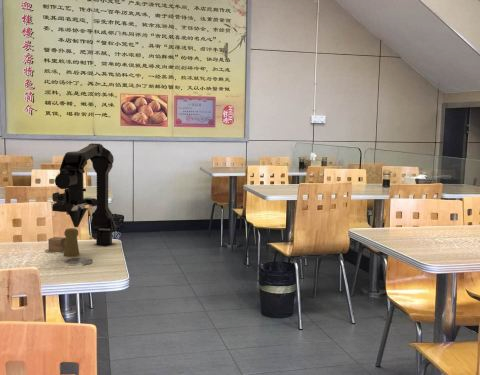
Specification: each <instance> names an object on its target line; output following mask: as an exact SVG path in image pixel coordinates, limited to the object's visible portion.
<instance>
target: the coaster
mask: <svg viewBox="0 0 480 375" xmlns="http://www.w3.org/2000/svg"><path fill="white" fill-rule="evenodd" d="M43 251H44V253H47V254H54V255H55V254H64V251H62V252H49V248H47V249H44V250H43Z"/></svg>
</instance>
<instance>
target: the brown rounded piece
mask: <svg viewBox="0 0 480 375" xmlns="http://www.w3.org/2000/svg"><path fill="white" fill-rule="evenodd" d="M63 234H64V237H66V241H65V249H64V253H63V257H67V258H74V257H75V258H76V257H78V256H80V249H79V248H80V247H79V243H78V236H79V230H78V229H77V228H76V227H74V228H73V227H71V228H69V227H68V228H66V229H65V230H64V233H63Z"/></svg>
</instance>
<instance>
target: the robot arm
mask: <svg viewBox="0 0 480 375" xmlns="http://www.w3.org/2000/svg"><path fill="white" fill-rule="evenodd" d="M89 160H90V161H91V163H92V168H93V170H94V172H95V173H96V197H84V193H85V192H87V188H85V187H84V174H85V173H86V170H85V169H84V168H85V166H87V165H88V161H89ZM113 163H114V155H113V154H112V152H111V150H109V149H108V148H105V147H104V145H103V144H101V143H89V144H88V145H87V146H84V147H83V148H81V149H80V150H77V151H75V150H74V151H67V152H66V153H65V154H64V155H63V158H62V161H61V164H60V167H59V174H57V175H56V176H55V178H54V184H55V186H56V187H57V188H58V189H61V190H64V192H62V193H60V192H57V191H56V192H53V193H52V197H51V199H52V201H53V202H54V203H52V206H51V207H52V211H53V212H59V213H68V215H69V216H70V219H71V222H72V225H73V227H74V228H79V225H80V224H81V221H82V219H83V217H84V216H85V214H86V212H87V211H88V210H89V208H88V207H86V206H88V205H89V206H91V207H96V209H95V210H94V212H92V214H91V227H92V232H94V233H95V232H96V237H95V238H96V239H95V240H96V243H94V244H93V245H94V246H98V247H99V246H100V247H109V246H112V245H116V243H113V233H115V232H116V231H117V224H116V222H115V220H114V218H113V213H112V211H111V209H110V208H109V173H110V172H111V170H112V168H113V166H114V165H113Z"/></svg>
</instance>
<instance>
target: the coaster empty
mask: <svg viewBox="0 0 480 375" xmlns="http://www.w3.org/2000/svg"><path fill="white" fill-rule="evenodd" d="M93 262H94V260H93V259H92V258H89V257H75V258H74V257H72V258H69V259H66V260H65V261H64V263H65V264H67V265H68V266H72V267H74V266H79V265H81V266H88V265H92V264H93Z"/></svg>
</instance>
